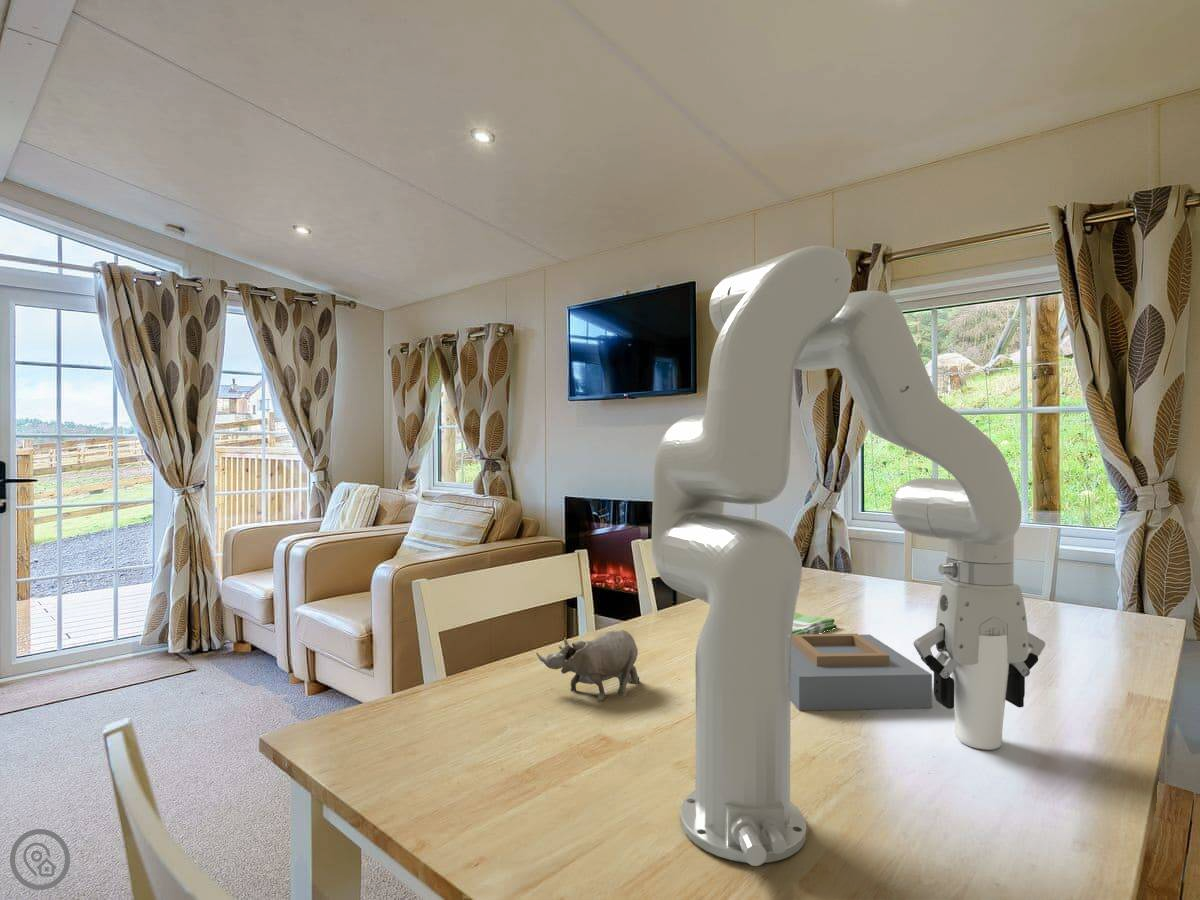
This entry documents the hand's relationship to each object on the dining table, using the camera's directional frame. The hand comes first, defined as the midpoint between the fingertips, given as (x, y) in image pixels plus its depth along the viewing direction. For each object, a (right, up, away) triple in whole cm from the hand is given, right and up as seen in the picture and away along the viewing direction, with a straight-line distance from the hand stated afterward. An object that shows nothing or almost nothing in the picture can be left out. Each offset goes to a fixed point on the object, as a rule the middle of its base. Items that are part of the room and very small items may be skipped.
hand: (978, 703), depth 85 cm
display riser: (-11, -5, +21) cm, 24 cm away
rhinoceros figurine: (-51, -5, +17) cm, 54 cm away
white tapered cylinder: (0, -5, 0) cm, 5 cm away
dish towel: (-14, -5, +51) cm, 53 cm away
